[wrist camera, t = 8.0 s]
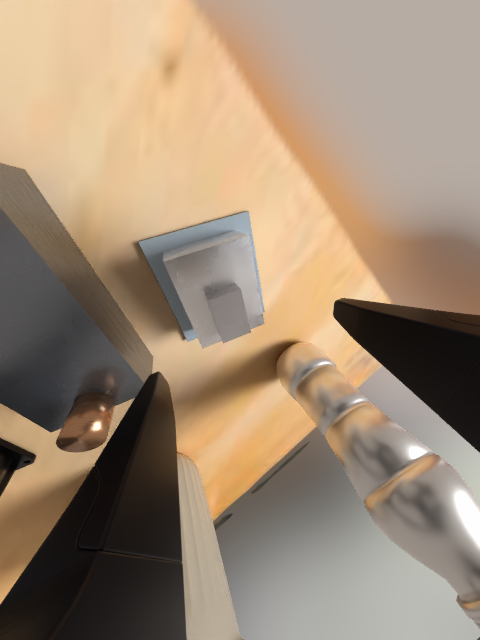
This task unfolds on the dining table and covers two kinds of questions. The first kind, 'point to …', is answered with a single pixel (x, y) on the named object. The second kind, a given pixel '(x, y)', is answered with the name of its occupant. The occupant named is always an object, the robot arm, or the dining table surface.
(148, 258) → the rubber pad
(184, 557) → the canister
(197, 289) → the lever cap
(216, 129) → the dining table surface
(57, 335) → the body
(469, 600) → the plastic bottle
